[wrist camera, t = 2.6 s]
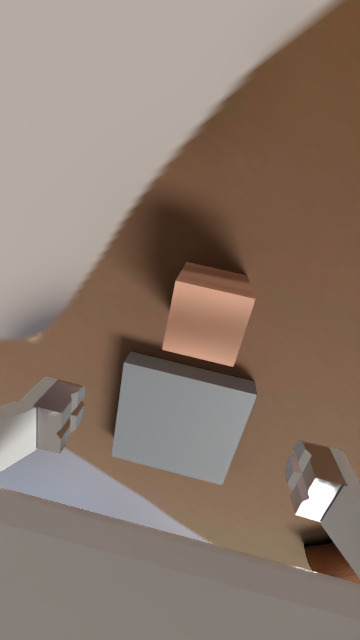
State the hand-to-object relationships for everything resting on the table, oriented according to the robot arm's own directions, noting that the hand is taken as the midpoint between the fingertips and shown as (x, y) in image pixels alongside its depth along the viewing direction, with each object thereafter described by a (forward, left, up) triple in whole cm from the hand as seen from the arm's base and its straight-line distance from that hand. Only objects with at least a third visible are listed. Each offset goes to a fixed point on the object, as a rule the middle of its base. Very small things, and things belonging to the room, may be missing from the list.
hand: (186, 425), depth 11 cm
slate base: (+13, 0, -14) cm, 19 cm away
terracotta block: (0, 0, -15) cm, 14 cm away
